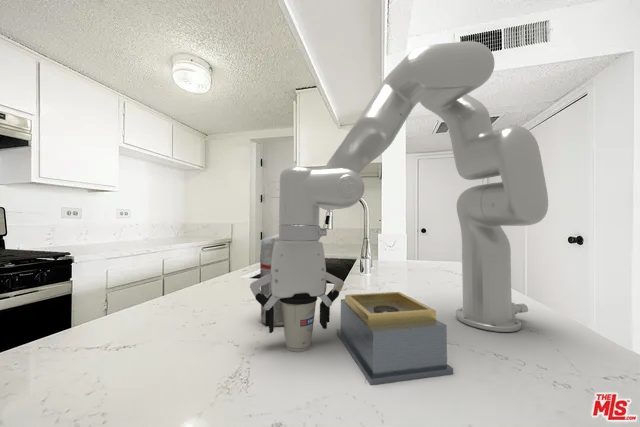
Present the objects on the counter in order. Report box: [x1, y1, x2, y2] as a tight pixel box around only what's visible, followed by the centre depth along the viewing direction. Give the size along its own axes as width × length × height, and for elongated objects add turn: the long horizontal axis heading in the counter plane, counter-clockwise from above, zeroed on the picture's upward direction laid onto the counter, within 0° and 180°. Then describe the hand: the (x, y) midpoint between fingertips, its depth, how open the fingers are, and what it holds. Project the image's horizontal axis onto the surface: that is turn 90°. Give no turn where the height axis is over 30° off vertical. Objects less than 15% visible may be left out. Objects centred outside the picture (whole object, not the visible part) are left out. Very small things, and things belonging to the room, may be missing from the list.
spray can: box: [259, 233, 284, 327], centre depth 60 cm, size 8×8×20 cm
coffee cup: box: [280, 293, 319, 352], centre depth 48 cm, size 7×7×10 cm
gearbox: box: [336, 291, 454, 386], centre depth 46 cm, size 17×15×8 cm
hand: (297, 327), depth 48 cm, fingers open, 9 cm apart
